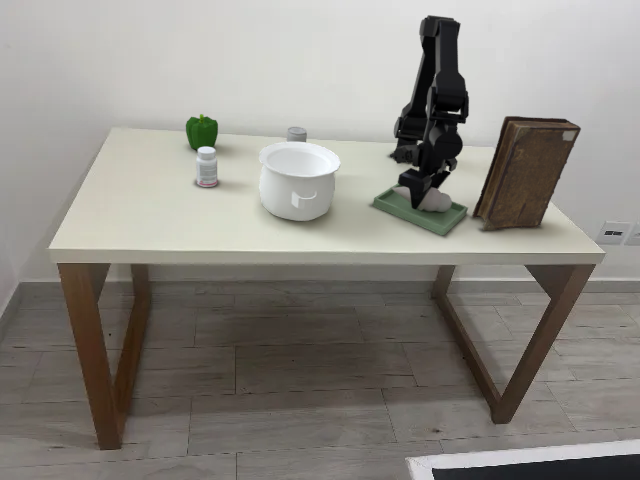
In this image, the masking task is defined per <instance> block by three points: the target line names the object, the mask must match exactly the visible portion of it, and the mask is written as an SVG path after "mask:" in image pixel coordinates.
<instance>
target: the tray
mask: <svg viewBox="0 0 640 480" xmlns="http://www.w3.org/2000/svg"><path fill="white" fill-rule="evenodd" d="M395 187H405V186H402V185H400V184H398V182H396V183H395V184H394V185H393V186H391V187H390V188H388V189H386V190H385V191H383V192H381V193H380V194H378V195H377V196H375V197H374V198H373V203H372V207H374V208H377V209H379V210H382V211H383V212H386V213H388V214H390V215H393V216H395V217H397V218H400V219H403V220H404V221H408V222H409V223H412V224H414V225H417V226H419V227H422V228H423V229H426V230H428V231H430V232H433V233H435V234H437V235H440V236H445V235H446V234H447V233H448V232H449V231H450V230H452V228H454V227H455V226H456V225H457V224H459V222H460V221H461V220H462V219H464V217H466V216H467V214H468V209H469V207H468V206H465V205H463V204H461V203H458V202H456V201H453V200H452V205H451V207H450V209H449V210H448V211H446V212H437V211H426V210H424V209H423V210H419V209H418V208H417V209H416V210H415V209H413V208H412V205H411V203H410V202H409V201H407V200H406V199H404V198H403V197H402V196H400V195H399V194H398V193H396V192H395V191H394V190H392V189H391V188H395Z"/></svg>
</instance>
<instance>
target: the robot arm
mask: <svg viewBox="0 0 640 480" xmlns="http://www.w3.org/2000/svg"><path fill="white" fill-rule="evenodd" d="M461 25H462V24H461V23H460V22H459V21H457V20H455V18H454V17H447V16H441V15H430V14H428V15H427V17H424V18H423V19H422V20H421V21H420V25H419V30H418V35H419V41H420V45H421V48H422V54H421V58H420V61H419V66H418V70H417V74H416V77H415V82H414V85H413V89H412V94H411V98H410V101H409V102H408V103H407V104H406V105H405V106H404V107H403V108H402V109H401V112H400V115H399V116H398V117H397V119H396V121H395V124H394V125H393V137H394V139H397V142H396V147H395V149H394V150H393V152H392V153H390V154H389V157H391V158H392V159H394V160H393V161H394V162H396V164H397V165H400V164H411V166H412V167H410V168H407V169H406V170H405V171H403V172H401V173H399V174H398V178H397V183H398V184H400V185H402V186H405V187H407V188H409V190H410V196H411V205H412V208H413V209H415V210H416V209H417V208H418V206H419V205H420V204H421V202H422V201H423V199H424V198H425V196H426V195H427V193H428V192H429V191H430V189H431V188H436V189H438V190H439V189H440V187H441V186H442V185H443V183H445V181H446V180H447V179H448V178H449V176H450V175H451V174H452V172H454V171H455V170H456V169H457V166H458V163H459V161H458V159H457V157H458V156H459V155H460V154H461V152H462V150H463V147H464V142H463V140H462V136H461V134H459V131H458V128H459V127H458V124H461V125H466V122H467V118H468V117H469V116H470V97H469V92H468V90H467V85H466V79H465V78H464V76H463V74H461V73H460V71H459V48H458V47H459V45H458V43H459V41H458V40H459V35H460V29H461ZM419 141H420V143H419ZM413 167H414V168H413ZM447 167H448V170H447ZM416 168H418V169H416Z"/></svg>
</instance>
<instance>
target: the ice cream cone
mask: <svg viewBox="0 0 640 480" xmlns="http://www.w3.org/2000/svg"><path fill="white" fill-rule="evenodd" d="M390 188H391V187H390ZM391 189H392V190H394V191H395V192H396V193H398V194H399V195H400V196H402V197H403V198H404V199H406V200H407V201H409V202H410V203H411V196H410V190H409V188H407V187H395V188H391ZM452 201H453V200H452V197H451V196H450V195H449V194H448V193H445V192H441V191H440V189H439V188H438V189H436V188H431V189H430V191H429V192H428V193H427V195H426V196H425V198H424V199H423V201H422V202H421V204H420V205H419V206H418V209H419V210H423V209H424V210H426V211H437V212H446V211H448V210H449V209H450V207H451V205H452Z"/></svg>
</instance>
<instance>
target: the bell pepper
mask: <svg viewBox="0 0 640 480" xmlns="http://www.w3.org/2000/svg"><path fill="white" fill-rule="evenodd" d="M218 123H219V122H218V121H217V119H212V118H211V117H210V116H204V114H203V113H200V114H199V117H196V116H190V117H189V119H187V120H186V123H185V133H186V137H187V141H188V144H189V146H190V148H191V149H193V150H196V151H197V152H198V148H200V147H212V148H214V147H215V145H216V142H217V138H218V135H219V124H218Z"/></svg>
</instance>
